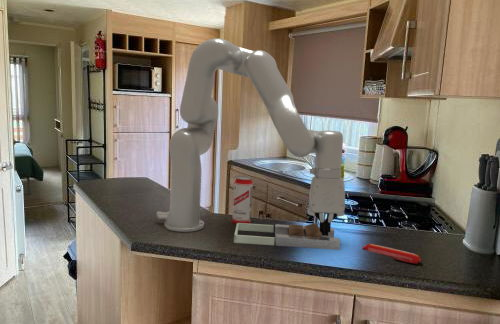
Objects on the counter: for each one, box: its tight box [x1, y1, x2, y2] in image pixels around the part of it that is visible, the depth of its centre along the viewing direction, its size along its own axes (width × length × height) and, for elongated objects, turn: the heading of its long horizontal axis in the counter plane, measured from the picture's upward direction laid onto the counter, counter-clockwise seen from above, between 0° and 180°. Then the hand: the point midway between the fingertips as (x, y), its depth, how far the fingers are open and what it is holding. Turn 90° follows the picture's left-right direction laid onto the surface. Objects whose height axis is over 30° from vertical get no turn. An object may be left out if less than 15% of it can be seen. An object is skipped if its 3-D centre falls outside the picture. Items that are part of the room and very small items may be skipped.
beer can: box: [231, 175, 254, 225], centre depth 131 cm, size 6×6×16 cm
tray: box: [233, 223, 276, 246], centre depth 118 cm, size 12×12×3 cm
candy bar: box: [361, 243, 423, 264], centre depth 111 cm, size 16×4×3 cm, turn 59°
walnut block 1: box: [288, 223, 304, 236], centre depth 117 cm, size 4×4×4 cm
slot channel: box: [274, 223, 341, 251], centre depth 118 cm, size 18×12×4 cm, turn 88°
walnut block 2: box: [303, 222, 322, 237], centre depth 117 cm, size 4×4×4 cm
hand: (324, 234), depth 117 cm, fingers closed
